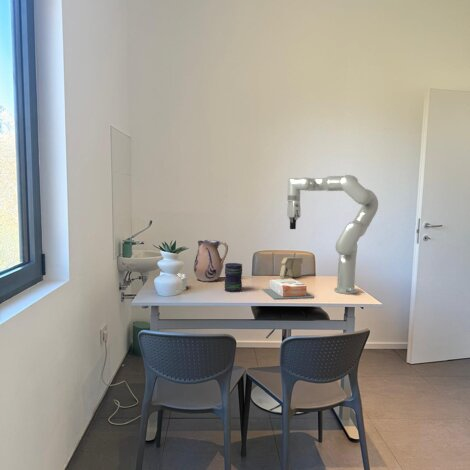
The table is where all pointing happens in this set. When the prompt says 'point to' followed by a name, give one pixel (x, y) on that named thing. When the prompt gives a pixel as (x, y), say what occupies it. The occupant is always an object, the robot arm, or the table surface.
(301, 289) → the cracker box
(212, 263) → the ceramic pitcher
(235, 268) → the storage jar
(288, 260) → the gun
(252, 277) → the table surface
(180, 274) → the white gift box
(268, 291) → the mat
